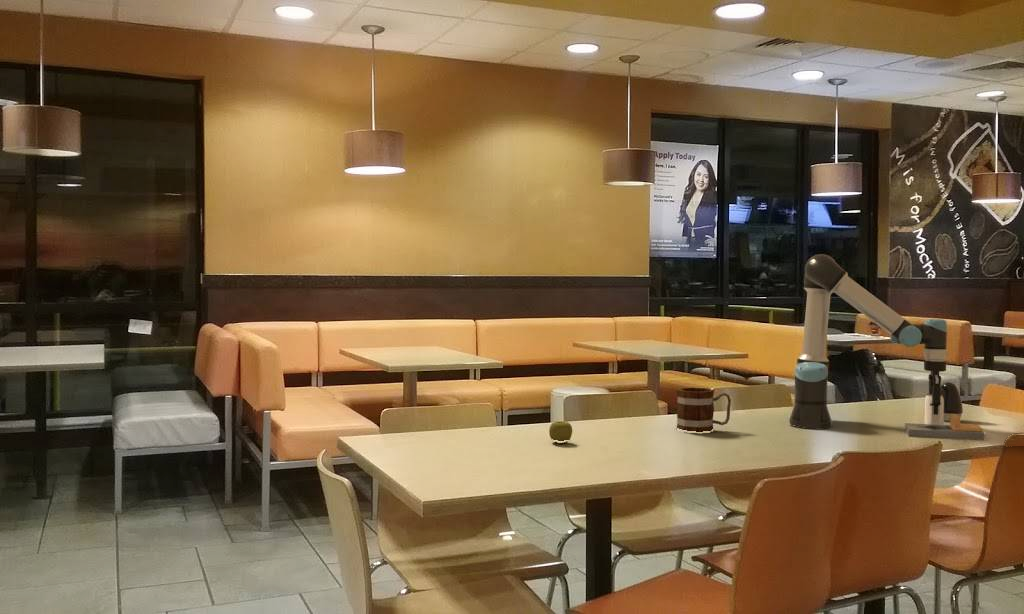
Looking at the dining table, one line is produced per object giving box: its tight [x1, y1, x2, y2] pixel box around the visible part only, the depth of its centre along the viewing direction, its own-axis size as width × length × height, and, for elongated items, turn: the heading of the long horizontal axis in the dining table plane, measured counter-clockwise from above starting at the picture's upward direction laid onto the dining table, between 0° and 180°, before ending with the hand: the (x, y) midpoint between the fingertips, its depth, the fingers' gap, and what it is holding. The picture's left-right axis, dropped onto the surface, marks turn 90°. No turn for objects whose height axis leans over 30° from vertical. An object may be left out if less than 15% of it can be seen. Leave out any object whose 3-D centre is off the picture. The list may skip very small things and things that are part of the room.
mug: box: [676, 387, 732, 432], centre depth 332 cm, size 20×14×15 cm
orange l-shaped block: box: [949, 414, 983, 432], centre depth 322 cm, size 9×9×4 cm
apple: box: [548, 421, 573, 441], centre depth 307 cm, size 8×8×7 cm
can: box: [923, 393, 945, 425], centre depth 342 cm, size 6×6×12 cm
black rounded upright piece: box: [940, 381, 964, 423], centre depth 356 cm, size 10×10×15 cm
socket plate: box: [904, 422, 985, 441], centre depth 325 cm, size 24×14×2 cm, turn 72°
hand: (933, 421), depth 342 cm, fingers closed on can, 6 cm apart
